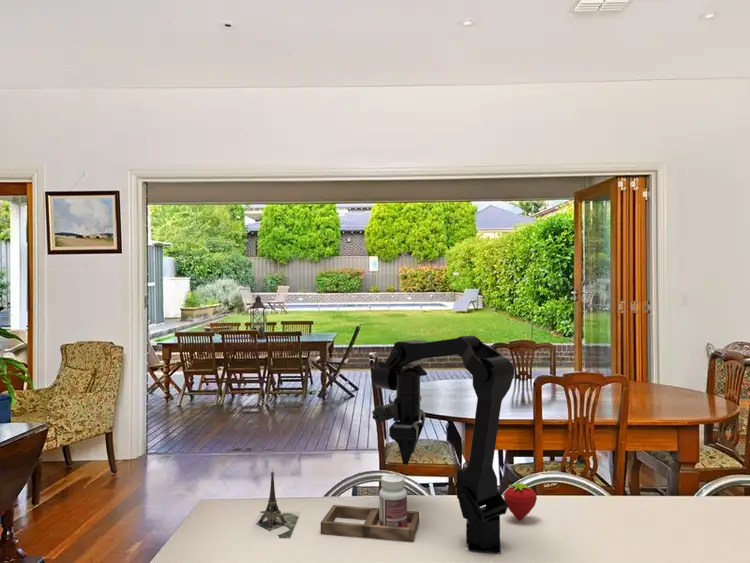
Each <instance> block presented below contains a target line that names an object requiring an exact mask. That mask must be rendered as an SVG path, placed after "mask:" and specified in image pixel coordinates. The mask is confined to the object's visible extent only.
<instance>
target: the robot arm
mask: <svg viewBox="0 0 750 563" xmlns="http://www.w3.org/2000/svg"><path fill="white" fill-rule="evenodd" d="M391 349H392V350H391V352H390V353H389V355H388V356H387V359H386V360H380V361H379V360H378V361H377V366H376V367H375V368H374V370H373V372H372V374H371V381H372V384H373V386H374V387H376V388H379V389H386V390H388V391H396V394H395V395H396V396H395V398H394V399H393V402H391V403H387V404H384V405H383V404H380V405H379V406H375V407H374V409H373V410H372V411H371V412H372V419H373V420H374V421H375V424H376V425H379V424H382V423H383V422H385V421H388V420H391V419H392V421H393V423H392V424H391V425H390V426H389V428H388V433H389V434H388V436H389V438H391V440H393V441H395V442H396V443H397V445H398V449H399V453H400V457H401V461H402V464H403V465H406V466H407V465H408V464H409V462H410V459H411V456H412V454H414V452H415V449H416V447H417V443H418V441H419V439H420V436H421V433H422V430H423V428H424V425H425V422H426V412H425V411H424V410H423V409H422V408H421V401H422V395H421V377H424V376H427V375H428V372H427V371H426V370H425V369H424V368H423V367H422V366H421V365H418V364H422V363H424V362H428V361H429V360H430V359H433V358H438V357H447V356H457V355H458V356H459V357H460V358H461V360H462V363H463V366H464V368H465V369H466V370H467V371H468V372H469V374H471V376H472V387H473V390H474V392H475V396H476V397H477V400H476V401H477V402H476V407H475V408H476V410H475V415H474V423H473V429H472V430H473V431H472V438H471V445H470V452H469V453H470V454H469V459H468V463H467V466H465V467H461V468H459V469H457V473H456V483H455V485H454V489H456V498H457V500H458V503H459V506H460V510H461V515H462V517H463V519H465V520H466V525H465V526H466V529H465V531H466V532H465V538H466V539H465V540H466V541H465V544H467V545H468V546H467V549H468V551H470V552H471V551H472V552H482V553H494V554H501V552H502V548H501V547H502V545H501V516H502V515H505V514H506V513H507V510H508V509H509V508H508V505H507V503H506V502H505V499H504V496H502V494H501V492H500V491H499V490H498V477H497V474H496V472H495V470H494V468H493V467H494V466H493V465H494V458H495V452H496V444H497V437H498V429H499V423H500V415H501V407H502V402H503V400H504V398H505V397H506V395H507V393H508V392H509V391H510V389H511V386H512V383H513V379H514V377H515V367H514V365H513V364H512V362H511V360H509V359H508V358H507V357H505V356H502V354H501V353H500V352H498V351H497V349H494V348H492V347H490V346H489V345H487V344H485V343H484V342H483V341H482V340H481V339H480V338H479V337H477V336H475V335H461V336H459V337H456V338H449V339H448V338H447V339H443V340H440V339H439V340H434V341H426V340H418V339H415V340H414V339H413V340H404V341H403V340H401V341H397V342H395V343H393V346H392V348H391Z"/></svg>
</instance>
